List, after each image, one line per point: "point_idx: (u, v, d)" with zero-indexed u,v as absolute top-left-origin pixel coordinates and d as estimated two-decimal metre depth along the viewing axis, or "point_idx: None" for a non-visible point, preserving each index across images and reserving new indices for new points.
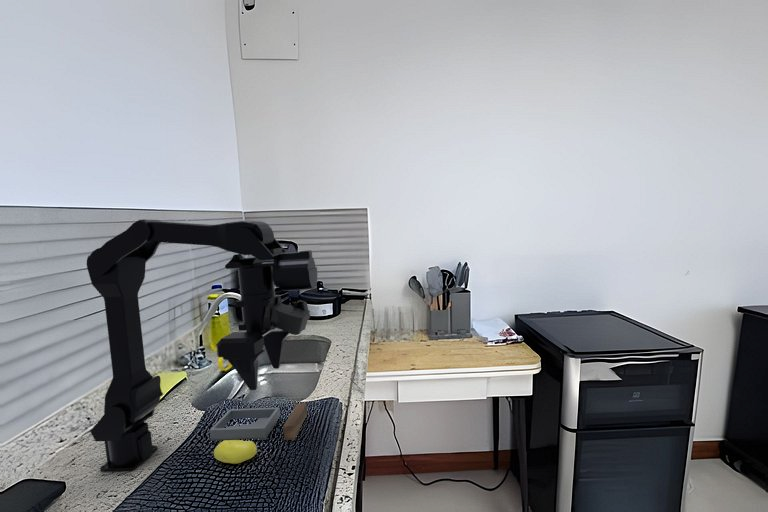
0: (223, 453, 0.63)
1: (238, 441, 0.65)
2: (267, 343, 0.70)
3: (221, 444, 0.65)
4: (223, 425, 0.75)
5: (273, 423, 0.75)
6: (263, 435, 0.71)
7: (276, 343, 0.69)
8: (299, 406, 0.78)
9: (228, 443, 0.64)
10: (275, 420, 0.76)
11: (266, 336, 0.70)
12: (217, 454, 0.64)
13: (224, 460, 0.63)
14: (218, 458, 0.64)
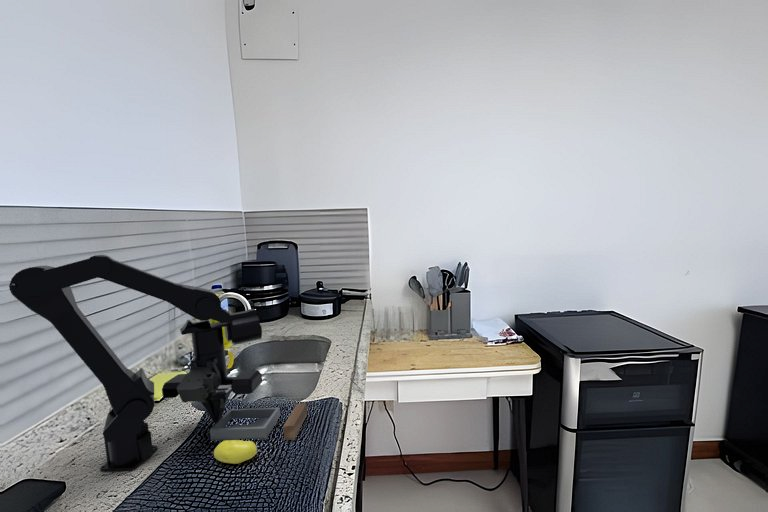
0: (223, 453, 0.63)
1: (238, 441, 0.65)
2: None
3: (221, 444, 0.65)
4: (223, 425, 0.75)
5: (273, 423, 0.75)
6: (263, 435, 0.71)
7: None
8: (299, 406, 0.78)
9: (228, 443, 0.64)
10: (275, 420, 0.76)
11: None
12: (217, 454, 0.64)
13: (224, 460, 0.63)
14: (218, 458, 0.64)
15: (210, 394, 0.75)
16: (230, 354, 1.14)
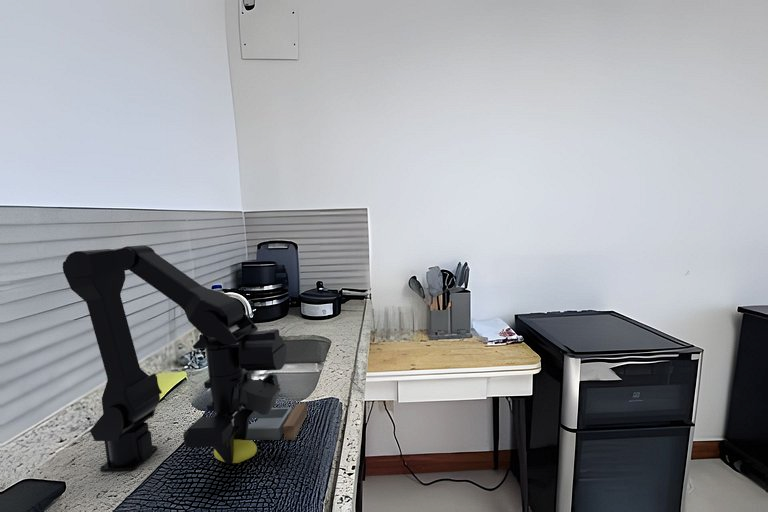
0: None
1: (238, 440, 0.65)
2: None
3: None
4: None
5: None
6: (277, 435, 0.70)
7: (241, 422, 0.67)
8: (299, 406, 0.78)
9: None
10: None
11: None
12: (217, 453, 0.64)
13: None
14: (218, 457, 0.64)
15: None
16: None
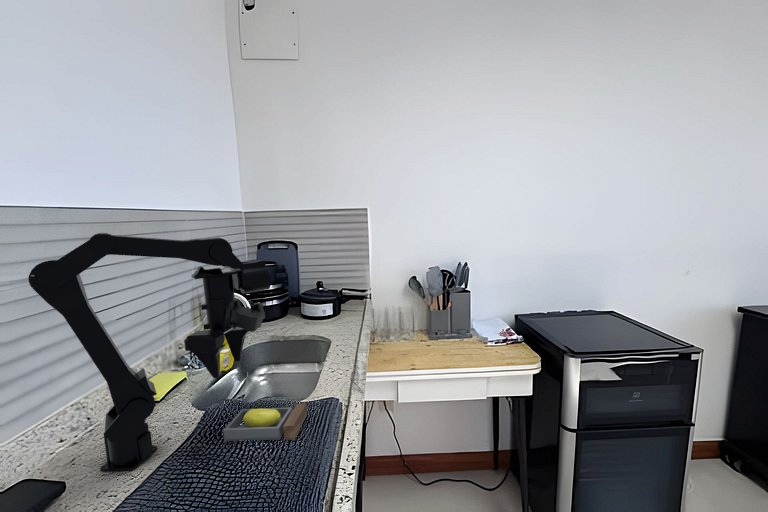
0: (251, 419, 0.73)
1: (264, 409, 0.75)
2: (230, 340, 0.82)
3: (249, 411, 0.75)
4: (236, 425, 0.75)
5: None
6: (277, 435, 0.70)
7: (237, 340, 0.82)
8: (299, 406, 0.78)
9: (255, 411, 0.74)
10: None
11: (228, 334, 0.82)
12: (246, 420, 0.74)
13: (252, 425, 0.73)
14: (247, 423, 0.74)
15: None
16: (230, 354, 1.14)
